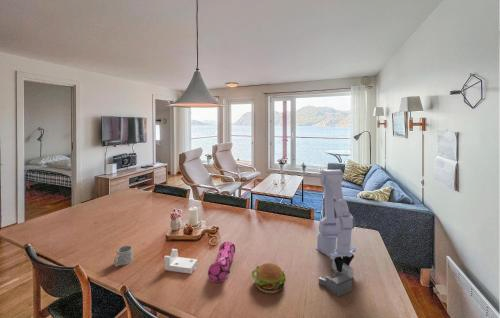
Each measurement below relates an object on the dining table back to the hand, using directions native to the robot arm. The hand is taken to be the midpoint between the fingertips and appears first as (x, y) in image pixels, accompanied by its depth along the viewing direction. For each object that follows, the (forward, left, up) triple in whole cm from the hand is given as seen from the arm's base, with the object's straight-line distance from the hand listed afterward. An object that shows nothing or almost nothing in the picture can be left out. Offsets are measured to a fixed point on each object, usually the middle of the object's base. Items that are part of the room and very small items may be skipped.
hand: (342, 269), depth 106 cm
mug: (-55, -89, -2) cm, 105 cm away
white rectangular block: (0, 0, -2) cm, 2 cm away
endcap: (+6, -10, -1) cm, 12 cm away
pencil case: (-28, -47, -2) cm, 55 cm away
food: (-9, -34, -2) cm, 35 cm away
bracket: (-37, -64, -2) cm, 74 cm away
